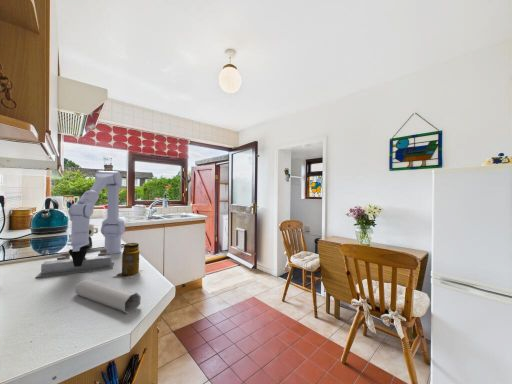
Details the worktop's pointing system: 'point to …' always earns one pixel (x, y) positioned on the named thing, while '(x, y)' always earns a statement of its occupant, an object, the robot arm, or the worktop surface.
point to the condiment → (130, 261)
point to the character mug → (91, 233)
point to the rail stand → (67, 255)
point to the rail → (68, 264)
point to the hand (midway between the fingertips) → (79, 264)
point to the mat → (75, 271)
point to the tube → (108, 295)
